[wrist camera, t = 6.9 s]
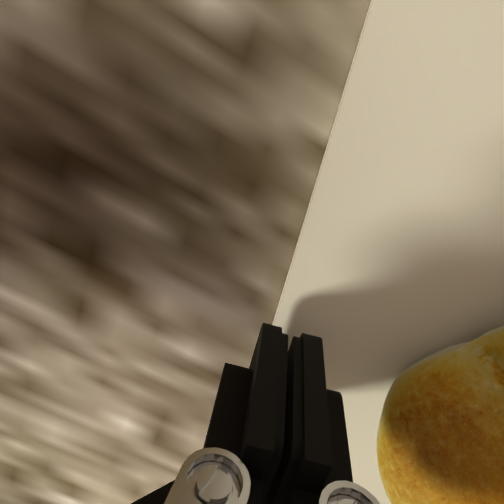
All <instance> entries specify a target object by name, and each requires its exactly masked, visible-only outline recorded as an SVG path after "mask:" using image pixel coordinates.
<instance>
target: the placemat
mask: <svg viewBox="0 0 504 504" xmlns="http://www.w3.org/2000/svg"><path fill="white" fill-rule="evenodd" d="M272 325H274V326H278V327H282V333H284V334H288V350H289V347H290V344H291V341H292V338H293V336H296V337H300V336H301V334H302V333H305V334H309V335H313V336H317V337H321V338H322V341H323V353H324V365H325V377H326V389H329V390H333V391H337V392H340V393H341V394H342V399H343V406H344V414H345V421H346V429H347V437H348V445H349V453H350V461H351V469H352V477H353V483H356V484H358V485H360V486H362V487H363V488H365V489H367V490H368V491H369V492H370V493H371V494H372V495H373V496H374V497H375V498H376V499H377V500H378V502H379V503H380V504H391V502H390V500H389V498H388V496H387V495H386V492H385V489H384V486H383V484H382V481H381V478H380V473H379V467H378V459H377V451H376V450H377V432H378V427H379V422H380V417H381V413H382V409H383V406H384V402H385V399H386V396H387V394H388V391H389V389H390V387H391V385H392V383H393V382H394V380H395V379H396V378H397V377H398V376H399V375H400V374H401V373H402V372H403V371H405V370H406V369H407V368H409V367H410V366H411V365H413V364H414V363H416V362H418V361H420V360H422V359H424V358H426V357H428V356H430V355H432V354H434V353H436V352H438V351H440V350H442V349H444V348H447V347H449V346H453V345H456V344H460V343H466V342H470V341H472V340H475V339H477V338H479V337H481V336H482V335H483V334H484V333H486V332H487V331H490V330H493V329H495V328H498V327H500V326H502V325H504V0H371V2H370V6H369V9H368V12H367V15H366V19H365V22H364V25H363V29H362V32H361V35H360V38H359V42H358V45H357V48H356V52H355V55H354V58H353V61H352V65H351V68H350V71H349V75H348V78H347V81H346V84H345V88H344V91H343V94H342V98H341V101H340V104H339V107H338V111H337V114H336V117H335V120H334V124H333V127H332V130H331V134H330V137H329V140H328V143H327V147H326V150H325V153H324V157H323V160H322V163H321V166H320V170H319V173H318V176H317V180H316V183H315V186H314V189H313V193H312V196H311V199H310V203H309V206H308V209H307V212H306V216H305V219H304V222H303V226H302V229H301V232H300V235H299V239H298V242H297V245H296V248H295V252H294V255H293V258H292V262H291V265H290V268H289V271H288V275H287V278H286V281H285V285H284V288H283V291H282V294H281V298H280V301H279V304H278V308H277V311H276V314H275V317H274V321H273V324H272Z"/></svg>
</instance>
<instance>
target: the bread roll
mask: <svg viewBox="0 0 504 504" xmlns="http://www.w3.org/2000/svg"><path fill="white" fill-rule="evenodd" d="M376 451H377V459H378V467H379V473H380V478H381V481H382V484H383V486H384V489H385V492H386V495H387V496H388V498H389V500H390V502H391V504H504V325H502V326H500V327H498V328H495V329H493V330H490V331H487V332H486V333H484V334H483V335H482V336H481V337H479V338H477V339H475V340H472V341H470V342H466V343H460V344H456V345H453V346H449V347H447V348H444V349H442V350H440V351H438V352H436V353H434V354H432V355H430V356H428V357H426V358H424V359H422V360H420V361H418V362H416V363H414V364H413V365H411V366H410V367H409V368H407V369H406V370H405V371H403V372H402V373H401V374H400V375H399V376H398V377H397V378H396V379H395V380H394V382H393V383H392V385H391V387H390V389H389V391H388V394H387V396H386V399H385V402H384V406H383V409H382V413H381V417H380V422H379V427H378V432H377V450H376Z"/></svg>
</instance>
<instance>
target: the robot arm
mask: <svg viewBox="0 0 504 504" xmlns="http://www.w3.org/2000/svg"><path fill="white" fill-rule="evenodd" d="M131 504H380V503H379V502H378V500H377V499H376V498H375V497H374V496H373V495H372V494H371V493H370V492H369V491H368V490H367V489H365V488H363V487H362V486H360V485H358V484H356V483H353V477H352V469H351V461H350V453H349V445H348V437H347V429H346V421H345V414H344V406H343V399H342V394H341V393H340V392H337V391H333V390H329V389H326V377H325V365H324V353H323V341H322V338H321V337H317V336H313V335H309V334H305V333H302V334H301V336H300V337H296V336H293V338H292V341H291V344H290V347H289V350H288V334H284V333H282V327H278V326H274V325H270V324H266V323H263V324H262V327H261V330H260V333H259V337H258V340H257V343H256V347H255V350H254V353H253V357H252V360H251V364H250V367H249V369H248V368H244V367H240V366H236V365H232V364H228V363H225V365H224V369H223V373H222V377H221V381H220V385H219V388H218V392H217V396H216V400H215V404H214V408H213V412H212V416H211V420H210V424H209V428H208V432H207V436H206V440H205V444H204V448H203V449H201V450H198V451H195V452H194V453H193V454H191V455H190V456H189V457H188V458H187V459H186V461H185V462H184V463H183V465H182V467H181V469H180V471H179V473H178V475H177V477H176V479H175V480H174V481H172V482H170V483H168V484H167V485H165V486H163V487H161V488H159V489H157V490H155V491H154V492H152V493H150V494H148V495H146V496H144V497H142V498H141V499H139V500H137V501H135V502H133V503H131Z"/></svg>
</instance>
